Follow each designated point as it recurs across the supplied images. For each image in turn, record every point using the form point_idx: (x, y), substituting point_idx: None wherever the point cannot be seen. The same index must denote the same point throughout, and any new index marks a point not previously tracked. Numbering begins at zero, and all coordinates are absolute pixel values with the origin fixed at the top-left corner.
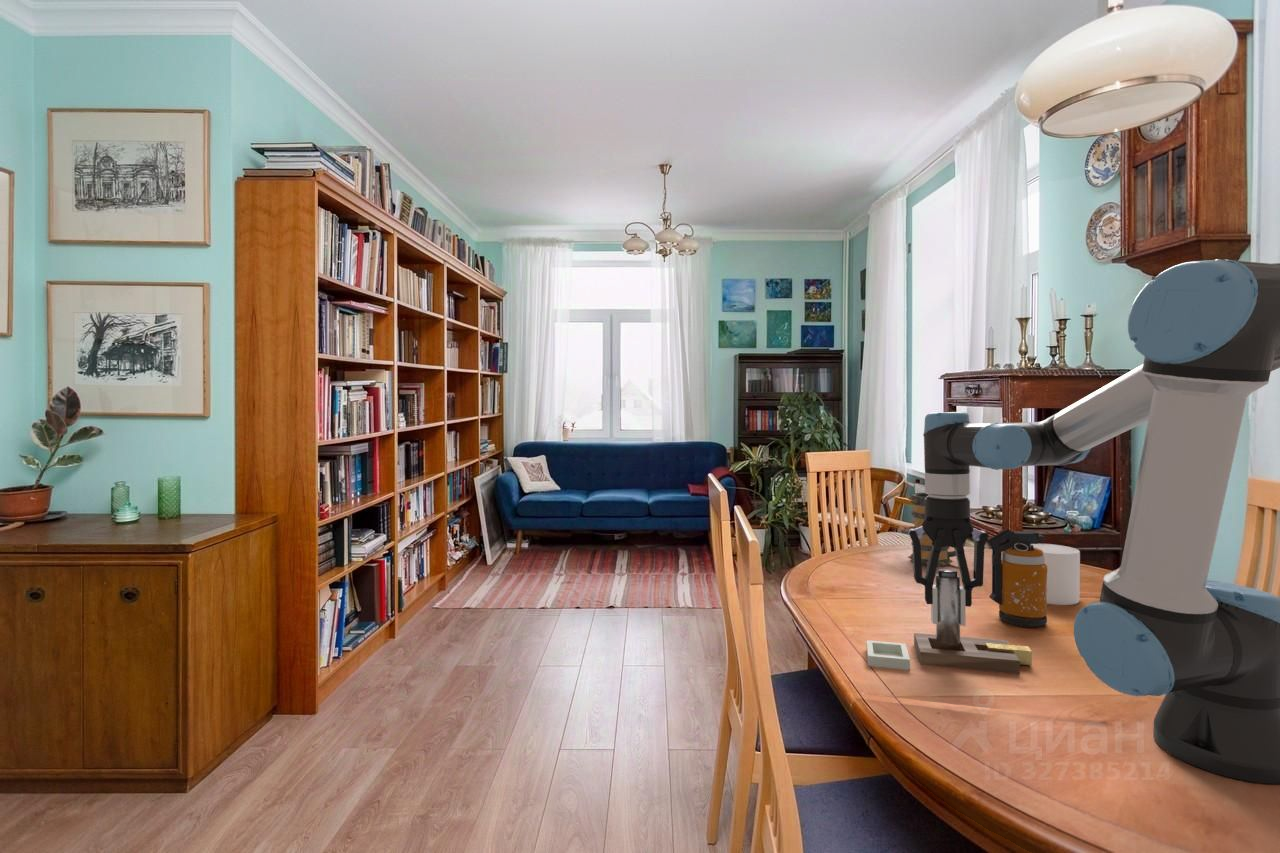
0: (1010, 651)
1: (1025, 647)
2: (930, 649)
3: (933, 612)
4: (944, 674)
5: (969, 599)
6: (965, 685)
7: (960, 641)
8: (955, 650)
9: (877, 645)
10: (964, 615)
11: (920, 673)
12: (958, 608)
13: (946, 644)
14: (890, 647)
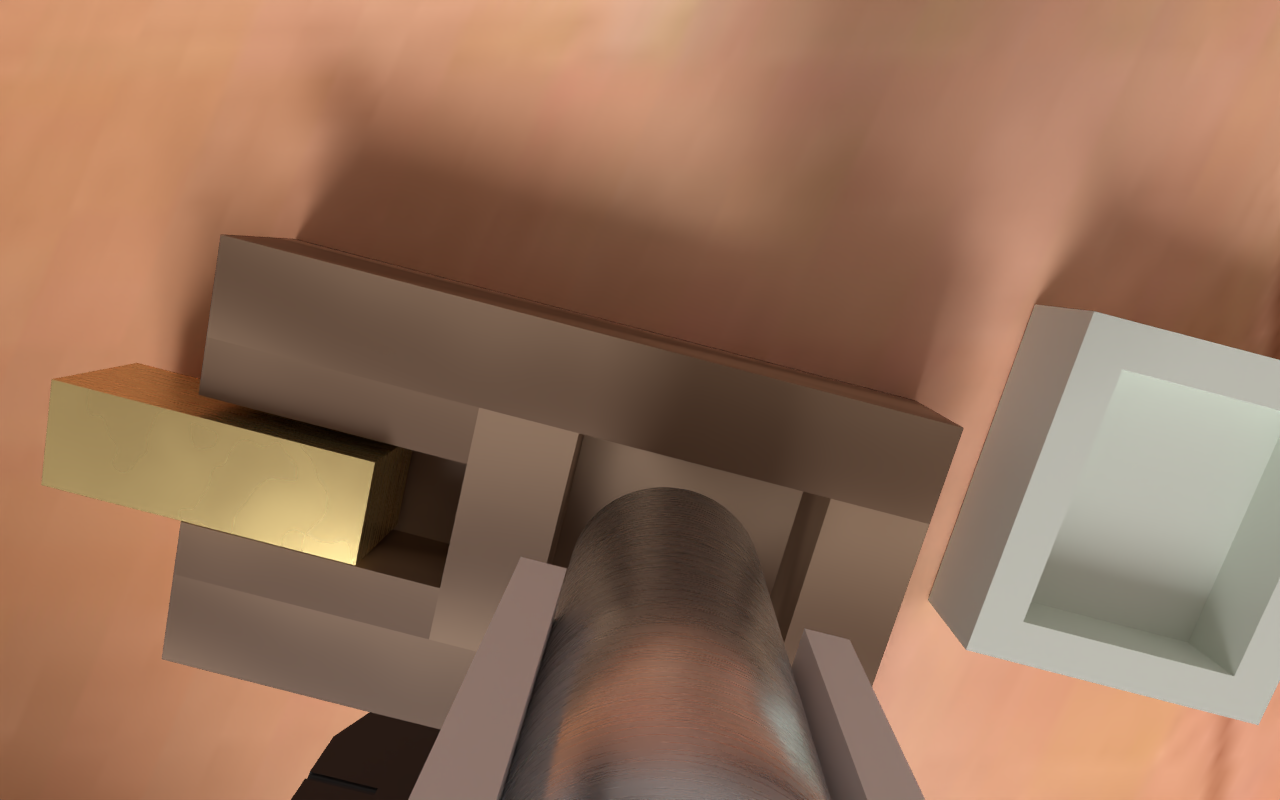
0: (220, 417)
1: (72, 463)
2: (851, 478)
3: (884, 720)
4: (789, 295)
5: (334, 797)
6: (726, 102)
7: None
8: None
9: (1178, 656)
10: (506, 617)
11: (954, 311)
12: (561, 697)
13: None
14: (1081, 627)
